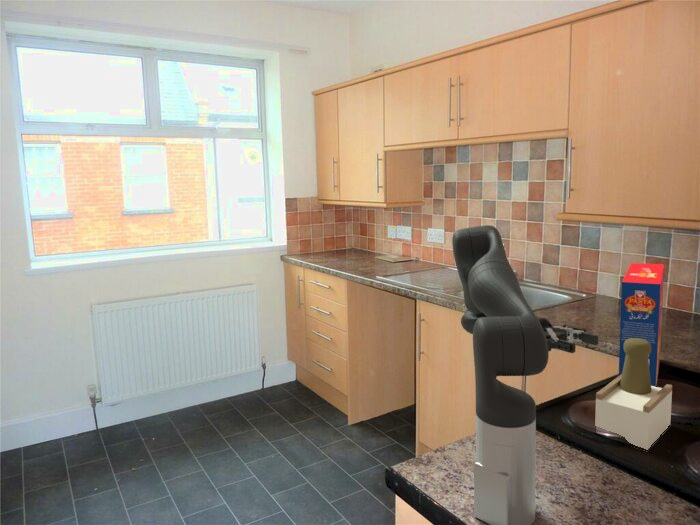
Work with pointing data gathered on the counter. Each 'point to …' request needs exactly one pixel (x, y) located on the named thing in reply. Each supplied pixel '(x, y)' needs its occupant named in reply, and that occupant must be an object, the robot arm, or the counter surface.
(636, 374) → the olive green pawn
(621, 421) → the display stand
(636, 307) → the pasta box
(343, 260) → the counter surface
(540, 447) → the counter surface
